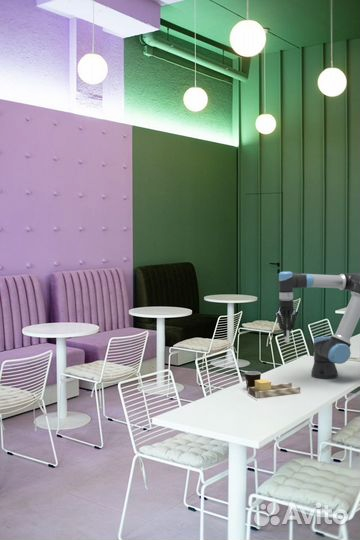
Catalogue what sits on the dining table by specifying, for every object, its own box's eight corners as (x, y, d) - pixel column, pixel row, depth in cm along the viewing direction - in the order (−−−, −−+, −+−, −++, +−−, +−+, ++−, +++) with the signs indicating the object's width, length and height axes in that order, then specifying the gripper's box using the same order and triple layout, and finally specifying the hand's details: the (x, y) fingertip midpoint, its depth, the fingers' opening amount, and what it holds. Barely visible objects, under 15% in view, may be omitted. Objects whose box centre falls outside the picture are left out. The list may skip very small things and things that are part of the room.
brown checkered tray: (290, 390, 334) (289, 382, 334) (300, 395, 322) (300, 387, 322) (247, 395, 326) (247, 387, 326) (257, 400, 315) (256, 392, 315)
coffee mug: (260, 393, 329) (260, 374, 328) (244, 393, 331) (244, 374, 330) (262, 388, 340) (261, 370, 340) (246, 387, 342) (246, 369, 342)
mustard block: (265, 392, 327) (265, 379, 326) (271, 395, 320) (271, 382, 320) (255, 393, 325) (254, 380, 324) (260, 396, 318) (260, 383, 318)
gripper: (278, 301, 335) (279, 344, 336) (300, 299, 339) (301, 342, 340) (272, 299, 342) (273, 342, 344) (293, 298, 346) (294, 340, 348)
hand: (287, 342), depth 342 cm, fingers closed
